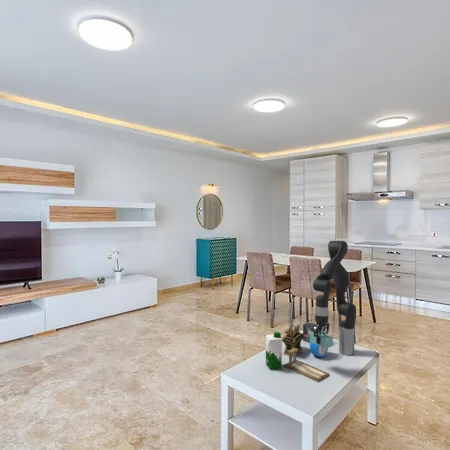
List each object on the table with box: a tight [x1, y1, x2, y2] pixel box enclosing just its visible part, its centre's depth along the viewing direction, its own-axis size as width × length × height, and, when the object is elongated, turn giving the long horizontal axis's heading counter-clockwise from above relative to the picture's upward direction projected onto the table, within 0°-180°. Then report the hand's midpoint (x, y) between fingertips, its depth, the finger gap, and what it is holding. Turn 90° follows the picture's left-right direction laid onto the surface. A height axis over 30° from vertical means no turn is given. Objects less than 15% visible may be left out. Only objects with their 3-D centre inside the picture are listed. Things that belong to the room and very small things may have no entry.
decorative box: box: [281, 322, 305, 357], centre depth 208 cm, size 20×10×20 cm, turn 143°
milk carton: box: [265, 331, 283, 371], centre depth 188 cm, size 9×9×20 cm
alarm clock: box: [309, 342, 329, 359], centre depth 204 cm, size 13×6×15 cm, turn 131°
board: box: [283, 348, 330, 383], centre depth 183 cm, size 11×23×9 cm, turn 40°
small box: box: [302, 321, 320, 343], centre depth 227 cm, size 13×7×12 cm, turn 50°
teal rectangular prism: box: [309, 332, 334, 349], centre depth 185 cm, size 5×12×5 cm, turn 40°
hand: (321, 342), depth 185 cm, fingers closed on teal rectangular prism, 5 cm apart
